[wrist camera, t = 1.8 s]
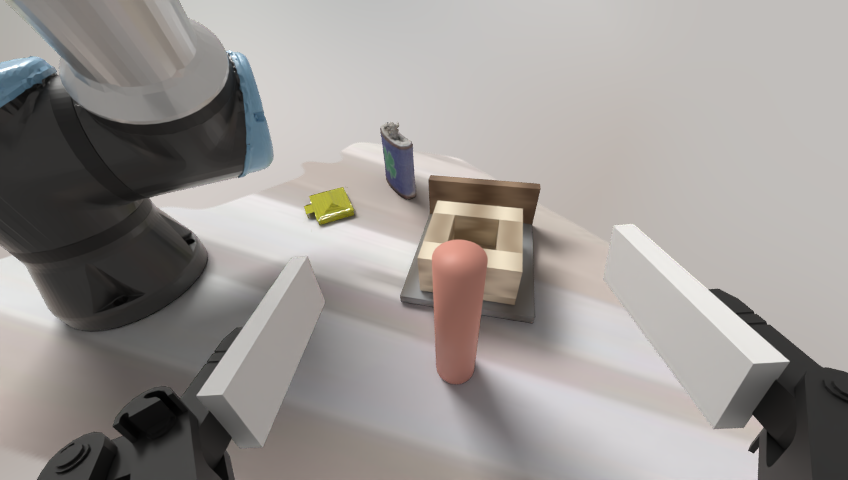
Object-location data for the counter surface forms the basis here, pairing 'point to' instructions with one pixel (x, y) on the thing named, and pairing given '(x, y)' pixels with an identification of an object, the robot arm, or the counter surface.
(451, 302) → the dowel
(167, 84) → the robot arm
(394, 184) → the flask
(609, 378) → the counter surface
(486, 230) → the socket block
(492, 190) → the grey fixture base
